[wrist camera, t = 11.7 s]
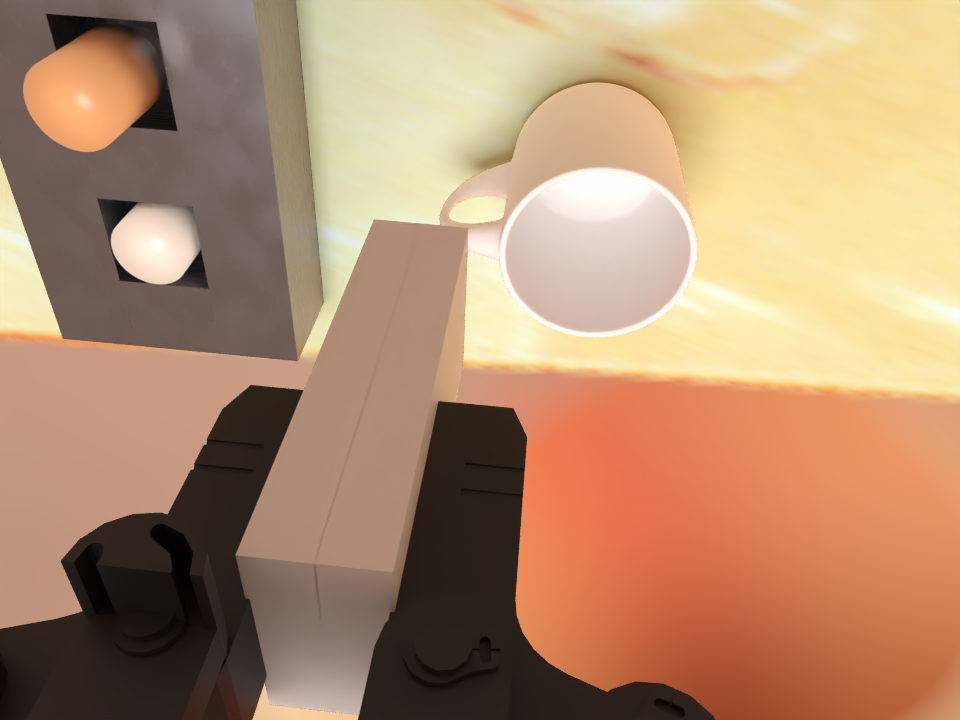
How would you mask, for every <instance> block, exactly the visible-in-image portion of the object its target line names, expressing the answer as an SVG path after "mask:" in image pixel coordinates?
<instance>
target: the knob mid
mask: <svg viewBox="0 0 960 720" xmlns="http://www.w3.org/2000/svg"><path fill="white" fill-rule="evenodd" d="M165 87H166V71H165V67H164V64H163V61H162V59H161V57H160V55H159V53H158V52H157V50H156V49H155V47H154V46H153V45H152V43H151V42H150V41H149V40H148V39H147V38H145V37H144V36H143V35H142V34H140V33H139V32H138V31H136V30H134V29H132V28H130V27H128V26H125V25H122V24H117V23H105V24H101V25H98V26H96V27H94V28H92V29H91V30H89V31H87V32H86V33H84V34H83V35H81V36H79V37H78V38H76V39H75V40H73V41H71V42H70V43H68V44H67V45H65V46H63V47H62V48H60V49H59V50H57V51H55V52H54V53H52V54H51V55H49V56H47V57H46V58H44V59H43V60H41V61H39V62H38V63H36V64H35V65H34V66H32V67H31V69H30V70H29V71H28V73H27V74H26V77H25V79H24V84H23V94H24V100H25V104H26V106H27V109H28V111H29V113H30V115H31V117H32V118H33V120H34V121H35V123H36V124H37V125H38V127H39V128H40V129H41V130H42V131H43V132H44V133H45V134H46V135H48V136H49V137H50V138H51V139H53V140H54V141H56V142H57V143H59V144H61V145H63V146H65V147H67V148H69V149H72V150H76V151H81V152H94V151H98V150H101V149H103V148H105V147H107V146H108V145H109V144H111V143H112V142H113V141H114V140H115V139H116V138H117V137H118V136H119V135H121V134H122V133H123V132H124V131H125V130H126V129H127V128H128V127H130V126H131V125H132V124H133V123H134V122H135V121H136V120H137V119H138V118H140V117H141V116H142V115H143V114H144V113H145V112H146V111H147V110H148V109H150V108H151V107H152V106H153V105H154V104H155V103H156V102H157V101H158V100H159V99H160V98H161V96H162V95H163V93H164V90H165Z"/></svg>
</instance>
